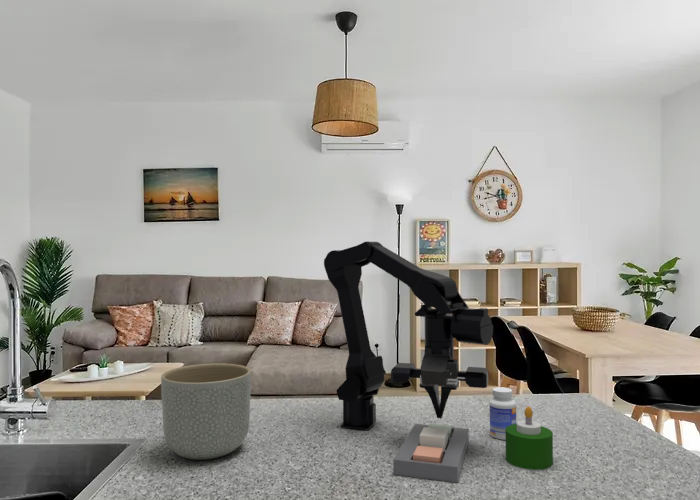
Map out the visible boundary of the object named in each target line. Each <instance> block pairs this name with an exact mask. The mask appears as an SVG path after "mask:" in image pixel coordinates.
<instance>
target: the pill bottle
mask: <svg viewBox="0 0 700 500" xmlns="http://www.w3.org/2000/svg"><path fill="white" fill-rule="evenodd" d="M512 397H513V390H512V389H511V387H502V386H498V387H497V386H496V387H494V388H492V397H491V398H490V400H489V405H488V406H489V434H490V436H491V437H492V438H495V439H497V440H502V441H504V440H505V441H506V434H505V429H506V427H507V426H509V425H512V424H517V402H516V400H514V399H512Z"/></svg>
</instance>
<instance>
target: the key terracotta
mask: <svg viewBox="0 0 700 500" xmlns="http://www.w3.org/2000/svg"><path fill="white" fill-rule="evenodd" d="M413 460H416V461H425V462H433V463H442V461H443V448H436V447H426V446H417V448H416V450H415V452H414V454H413Z"/></svg>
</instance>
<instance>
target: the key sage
mask: <svg viewBox="0 0 700 500" xmlns="http://www.w3.org/2000/svg"><path fill="white" fill-rule="evenodd" d="M427 425H428V427H427V428H435V429H446V430H448V437H449V438H451V436H452V427H453V425H449V424H439V423H429V424H427Z"/></svg>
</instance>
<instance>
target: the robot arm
mask: <svg viewBox="0 0 700 500" xmlns="http://www.w3.org/2000/svg"><path fill="white" fill-rule="evenodd" d="M370 264H372V265H374V266H376V267H377V268H379V269H380V270H382V271H383V272H386V274H389V275H390V276H392V277H394V278H395V279H396V280H399V281H400V282H402V283H403V284H405V285H406V286H408V288H409V289H410V290H411V292H412V294H413V295H414V296H415V297H416V298H417V299H418V300H420V301H421V302H422V304H421V305H420V306H421V307H420V308H418V310H417V311H415V312H414V316H415V317H423V318H424V354H423V357H422V361H421V365H420V368H418V367H417V368H416V365H415V363H409V362H398V363H397V364H395V365H394V367H392V368H391V371H390V382H392V383H393V382H394V383H407V382H408V381H409V380H410V379H411V378H413V379H419V381H420V382H419V388H422V389H424V390H425V391H426V392H427V395H428V396H429V398H430V400H431V404H432V407H433V410H434V412H435V415H436V418H437V419H442V418H443V416H444V415H443V414H444V412H445V408H446V405H447V403H448V399H449V397H450V394H451V392H452V391H456V390H458V387H459V385H460V381H461V382H465V383H466V385H467V386H468V387H469V388H477V389H478V388H479V389H486V388H488V384H489V370H488V369H487V368H486V367H481V366H480V367H479V366H478V367H477V366H468V367H467V369H466V370H459V363H458V359H456V358H454V357H455V350H454V349H455V348H454V347H455V346H454V341H455V340H456V342H458V343H464V344H475V345H484V346H487V345H489V344H490V343H491V341H492V338H493V333H494V325H493V322H492V318H491V316H490V315H489V311H488V308H484V307H480V308H469V306H468V304H467V303H466V301H465V300H464V298H463V296H462V295H461V294H460V293H459V291H458V287H457V283H456V281H455V280H454V279H453V278H452V277H450V276H446V275H444V274H441V273H438V272H434V271H430V270H426V269H424V268H421V267H419V266H418V265H416V264H414V263H412V262H410V260H408V259H406V258H404V257H403V256H400V254H397V253H396V252H395V251H392V250H390V249H389V248H387V247H386V246H383V244H382V243H380V242H379V241H363V242H362V243H359V244H357V245H354V246H351V247H348V248H345V249H341V250H339V249H337V250H336V249H335V250H331V251H329V252H328V253H326V257H325V258H324V260H323V267H324V270H325V273H326V276H327V278H328V281H329V282H330V283H331V285H332V286H333V287H334V289H335V290H336V292H337V297H338V303H339V308H340V312H341V317H342V318H341V319H342V323H343V328H344V333H345V339H346V344H347V350H348V357H347V360H346V365H345V380H344V381H343V383H342V384H340V386H339V387H338V388H337V389H336V394H337V398H338V400H339V401H342V423H340V428H343V429H345V428H346V429H353V430H363V431H364V430H366V431H369V430H370V429H371V428H372V427H373V426H374V424H375V423H376V422H377V404H376V403H375V402H374V396H377V395H378V393H379V391H380V388H381V387H382V385H383V383H384V382H385V375H387V372H386V370H385V367H384V363H383V362H384V361H383V360H384V358H383V356H382V355H378V356H377V355H376V353H374V352H373V350H372V347H371V344H370V343H371V342H370V340H369V333H368V330H367V329H368V328H367V324H366V318H365V315H364V309H363V303H362V298H361V293H360V288H359V287H360V281H361V278H362V275H363V273H362V272H363V270H362V267H365V266H367V265H370ZM439 387H440V388H439Z"/></svg>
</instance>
